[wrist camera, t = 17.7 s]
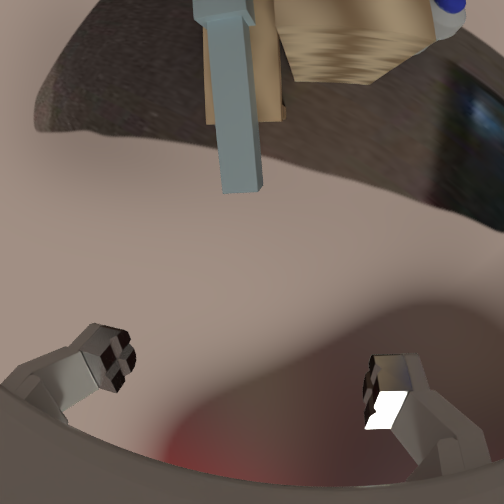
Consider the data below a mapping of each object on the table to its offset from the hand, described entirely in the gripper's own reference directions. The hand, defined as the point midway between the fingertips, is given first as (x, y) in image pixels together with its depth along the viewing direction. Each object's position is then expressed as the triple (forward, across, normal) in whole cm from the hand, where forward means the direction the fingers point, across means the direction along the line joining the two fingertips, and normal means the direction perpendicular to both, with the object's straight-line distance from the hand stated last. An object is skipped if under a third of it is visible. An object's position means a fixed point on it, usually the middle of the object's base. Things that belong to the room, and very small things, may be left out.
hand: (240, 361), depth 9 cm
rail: (+25, +5, -12) cm, 28 cm away
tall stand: (+39, -5, -21) cm, 45 cm away
